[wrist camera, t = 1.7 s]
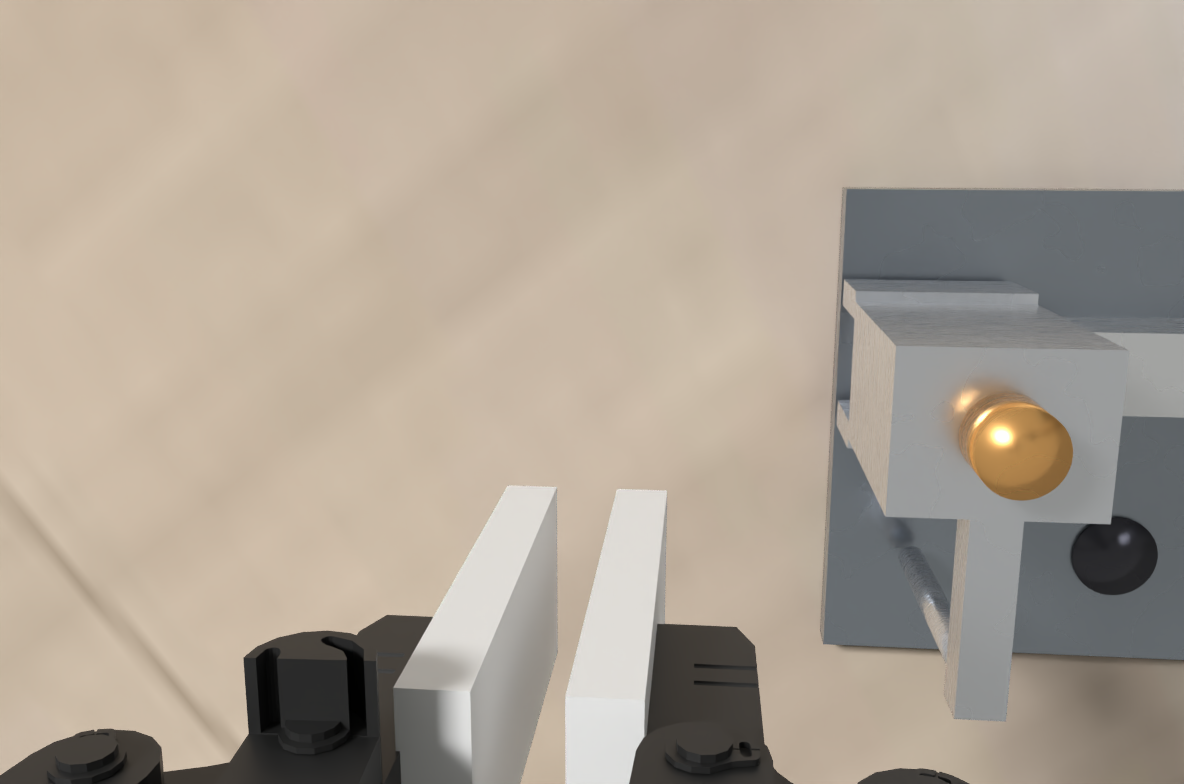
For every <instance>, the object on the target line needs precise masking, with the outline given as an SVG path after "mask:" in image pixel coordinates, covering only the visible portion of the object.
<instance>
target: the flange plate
mask: <svg viewBox="0 0 1184 784" xmlns="http://www.w3.org/2000/svg"><path fill="white" fill-rule="evenodd" d="M844 279H865V280H935V281H1005V282H1014V283H1016V284H1018V285H1021V286H1023V287H1025V288H1027V289H1029V290H1031V291H1033V292H1036V293H1038V294H1039V297H1038V305H1039V306H1041V307H1043V308H1045V309H1047V310H1049V311H1051V312H1053V313H1055V314H1057V315H1059V316H1061V317H1063V318H1065V319H1067V320H1069V321H1071V322H1073V323H1075V324H1077V325H1079V326H1081V327H1083V328H1085V329H1087V330H1089V331H1091V332H1093V333H1095V334H1097V335H1099V336H1101V337H1103V338H1105V339H1107V340H1109V341H1111V342H1113V343H1115V344H1117V345H1119V346H1121V347H1123V348H1125V349H1127V350H1129V361H1128V370H1127V379H1126V388H1125V397H1124V406H1123V416H1122V425H1121V434H1120V443H1119V452H1118V461H1117V471H1116V480H1115V489H1114V498H1113V507H1112V517H1111V524H1084V523H1055V522H1025V521H1024V528H1023V539H1022V550H1021V561H1020V572H1019V583H1018V594H1017V605H1016V616H1015V627H1014V638H1013V648H1012V652H1014V653H1037V654H1060V655H1082V656H1105V657H1127V658H1150V659H1173V660H1184V190H1114V189H966V188H843V194H842V213H841V233H840V253H839V273H838V292H837V312H836V332H835V352H834V371H833V391H832V411H831V430H830V450H829V470H828V490H827V509H826V529H825V549H824V569H823V588H822V608H821V628H820V632H821V636H822V641H823V644H833V645H856V646H879V647H901V648H924V649H939V648H938V646H937V644H936V642H935V639H934V637H933V635H932V633H931V631H930V628H929V626H928V624H927V622H926V620H925V618H924V615H923V613H922V611H921V609H920V607H919V604H918V602H917V600H916V598H915V596H914V594H913V591H912V589H911V587H910V585H909V583H908V581H907V578H906V576H905V574H904V572H903V570H902V567H901V565H900V563H899V560H898V556H899V553H900V551H901V550H902V549H904V548H905V547H908V546H915V547H918V548H919V549H920V550H921V551H922V552H923V554H924V556H925V558H926V560H927V561H928V563H929V565H930V567H931V569H932V571H933V573H934V575H935V577H936V579H937V580H938V582H939V584H940V586H941V588H942V590H943V592H944V594H945V596H946V597H947V599H948V601H949V603H950V605H951V595H952V582H953V569H954V556H955V543H956V530H957V519H936V518H906V517H885V515H884V513H883V511H882V509H881V507H880V504H879V502H878V500H877V498H876V496H875V494H874V492H873V490H872V488H871V486H870V484H869V481H868V479H867V477H866V475H865V473H864V471H863V469H862V467H861V465H860V463H859V460H858V458H857V456H856V454H855V452H854V450H853V449H852V448H847V446H846V444H845V442H844V440H843V438H842V435H841V433H840V431H839V429H838V427H837V406H838V400H850V392H851V374H852V355H853V337H854V318H853V317H852V316H851V314H850V313H849V312H848V311H847V310H846V308H845V307H844V306H843V291H844Z"/></svg>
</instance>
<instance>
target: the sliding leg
mask: <svg viewBox="0 0 1184 784" xmlns="http://www.w3.org/2000/svg"><path fill="white" fill-rule="evenodd" d="M1038 297H1039V294H1038V293H1036V292H1033V291H1031V290H1029V289H1027V288H1025V287H1023V286H1021V285H1018V284H1016V283H1014V282H1005V281H935V280H865V279H844V291H843V306H844V307H845V308H846V310H847V311H848V312H849V313H850V314H851V316H852V317H853V318H854V337H853V355H852V374H851V392H850V400H838V406H837V427H838V429H839V431H840V433H841V435H842V438H843V440H844V442H845V444H846V446H847V448H852V449H853V450H854V452H855V454H856V456H857V458H858V460H859V463H860V465H861V467H862V469H863V471H864V473H865V475H866V477H867V479H868V481H869V484H870V486H871V488H872V490H873V492H874V494H875V496H876V498H877V500H878V502H879V504H880V507H881V509H882V511H883V513H884V515H885V517H906V518H936V519H957V530H956V543H955V556H954V569H953V582H952V595H951V605H950V603H949V601H948V599H947V597H946V596H945V594H944V592H943V590H942V588H941V586H940V584H939V582H938V580H937V579H936V577H935V575H934V573H933V571H932V569H931V567H930V565H929V563H928V561H927V560H926V558H925V556H924V554H923V552H922V551H921V550H920V549H919V548H918V547H915V546H908V547H905V548H904V549H902V550H901V551H900V553H899V556H898V560H899V563H900V565H901V567H902V570H903V572H904V574H905V576H906V578H907V581H908V583H909V585H910V587H911V589H912V591H913V594H914V596H915V598H916V600H917V602H918V604H919V607H920V609H921V611H922V613H923V615H924V618H925V620H926V622H927V624H928V626H929V628H930V631H931V633H932V635H933V637H934V639H935V642H936V644H937V646H938V648H939V650H940V652H941V655H942V657H943V659H944V661H945V663H946V672H945V685H944V697H945V699H946V701H947V704H948V706H949V708H950V711H951V713H952V715H953V718H954V719H967V720H987V721H1006V714H1007V703H1008V692H1009V681H1010V670H1011V659H1012V648H1013V638H1014V627H1015V616H1016V605H1017V594H1018V583H1019V572H1020V561H1021V550H1022V539H1023V528H1024V521H1025V522H1055V523H1084V524H1111V517H1112V507H1113V498H1114V489H1115V480H1116V471H1117V461H1118V452H1119V443H1120V434H1121V425H1122V416H1123V406H1124V397H1125V388H1126V379H1127V370H1128V361H1129V350H1127V349H1125V348H1123V347H1121V346H1119V345H1117V344H1115V343H1113V342H1111V341H1109V340H1107V339H1105V338H1103V337H1101V336H1099V335H1097V334H1095V333H1093V332H1091V331H1089V330H1087V329H1085V328H1083V327H1081V326H1079V325H1077V324H1075V323H1073V322H1071V321H1069V320H1067V319H1065V318H1063V317H1061V316H1059V315H1057V314H1055V313H1053V312H1051V311H1049V310H1047V309H1045V308H1043V307H1041V306H1039V305H1038Z"/></svg>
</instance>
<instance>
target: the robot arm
mask: <svg viewBox="0 0 1184 784" xmlns="http://www.w3.org/2000/svg"><path fill="white" fill-rule="evenodd" d="M666 523H667V491H665V490H634V489H617V492H616V496H615V500H614V504H613V508H612V512H611V516H610V520H609V524H608V528H607V532H606V536H605V540H604V544H603V548H602V552H601V556H600V560H599V564H598V568H597V572H596V576H595V580H594V584H593V588H592V592H591V596H590V600H589V604H588V608H587V612H586V616H585V620H584V624H583V628H582V632H581V636H580V640H579V644H578V648H577V652H576V656H575V660H574V664H573V668H572V672H571V676H570V680H569V684H568V688H567V692H566V696H565V717H566V784H793V783H791V782H790V781H788V780H787V779H786V778H784V777H783V776H782V775H780V774H779V773H778V772H777V771H776V770H775V769H774V767H773V760H772V757H771V755H770V752H769V749H768V747H767V746H766V745H765V744H764V735H763V725H762V715H761V705H760V694H759V688H758V674H757V664H756V654H755V646H754V645H753V644H752V643H751V642H750V641H749V640H748V639H747V638H746V637H745V635H744V634H743V633H742V632H741V631H740V630H739V629H738V628H737V627H722V626H698V625H675V624H665V578H666ZM557 653H558V632H557V487H540V486H509V485H508V486H507V488H506V490H505V491H504V493H503V495H502V497H501V498H500V500H499V502H498V504H497V505H496V507H495V509H494V511H493V513H492V514H491V516H490V518H489V520H488V521H487V523H486V525H485V527H484V528H483V530H482V532H481V534H480V535H479V537H478V539H477V541H476V543H475V544H474V546H473V548H472V550H471V551H470V553H469V555H468V557H467V558H466V560H465V562H464V564H463V565H462V567H461V569H460V571H459V573H458V574H457V576H456V578H455V580H454V581H453V583H452V585H451V587H450V588H449V590H448V592H447V594H446V595H445V597H444V599H443V601H442V603H441V604H440V606H439V608H438V610H437V611H436V613H435V615H434V617H420V616H397V615H386V616H385V617H383V618H381V619H380V620H378V621H376V622H375V623H373V624H371V625H369V626H368V627H366V628H364V629H363V630H361V631H360V632H359V633H358V634H357V636H356V635H354V634H351V633H343V632H334V631H316V632H302V633H297V634H293V635H288V636H284V637H279V638H276V639H274V640H271V641H269V642H267V643H264V644H262V645H260V646H257V647H256V648H255V649H254V650H252V651H251V652H250V653H249V654H247V655H246V656H245V657H244V671H245V686H246V700H247V714H248V728H249V734H248V736H247V737H246V739H245V740H244V742H243V743H242V745H241V746H240V748H239V749H238V751H237V752H236V754H235V755H234V757H233V758H232V760H231V761H230V763H224V764H219V765H214V766H208V767H200V768H192V769H184V770H176V771H168V772H163V761H162V750H161V747H160V746H159V744H158V743H157V742H156V741H155V740H154V739H153V737H150V736H147V735H145V734H142V733H139V732H136V731H126V730H114V729H98V730H97V732H94V730H91V731H85V732H81V733H78V734H76V735H75V736H72V737H69V738H66V739H63V740H60V741H56V742H54V743H52V744H50V745H48V746H46V747H44V748H42V749H40V750H39V751H37V752H35V753H33V754H31V755H30V756H28V757H27V758H25V759H24V760H22V761H21V762H19V763H18V764H16V765H15V766H13V767H12V768H11V769H9V770H8V771H6V772H5V773H3V774H2V775H0V784H520V782H521V778H522V775H523V771H524V768H525V764H526V761H527V757H528V754H529V750H530V747H531V743H532V740H533V736H534V733H535V729H536V726H537V722H538V719H539V715H540V712H541V708H542V705H543V701H544V698H545V694H546V691H547V688H548V684H549V681H550V677H551V674H552V670H553V667H554V663H555V660H556V656H557ZM858 784H969V783H967V782H965V781H963V780H961V779H959V778H956V777H954V776H952V775H949V774H946V773H942V772H939V773H938V772H936V771H934V770H928V769H902V768H899V769H893V770H888V771H882V772H876V773H874V774H872V775H870V776H869V777H867V778H865V779H863V780H861V781H860V782H858Z"/></svg>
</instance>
